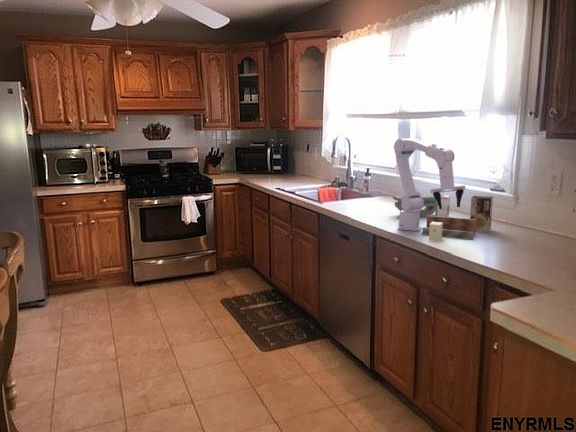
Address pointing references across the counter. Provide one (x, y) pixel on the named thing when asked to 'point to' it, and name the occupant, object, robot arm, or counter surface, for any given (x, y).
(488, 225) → the coffee box
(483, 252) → the counter surface
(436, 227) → the cream box
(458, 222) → the cleat board
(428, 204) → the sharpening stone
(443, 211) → the syrup box
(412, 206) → the robot arm
